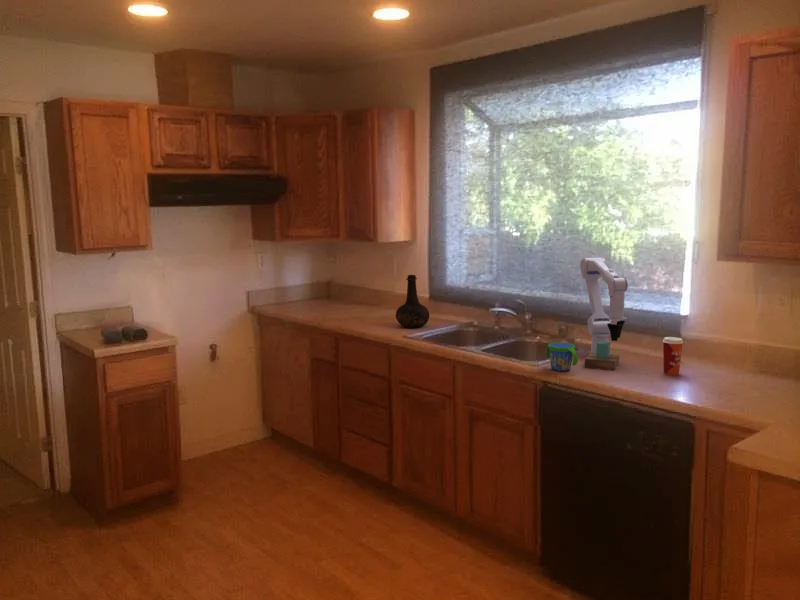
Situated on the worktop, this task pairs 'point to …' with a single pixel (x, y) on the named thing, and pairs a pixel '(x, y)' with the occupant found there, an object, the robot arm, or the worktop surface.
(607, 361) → the walnut base
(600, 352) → the teal block
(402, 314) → the glass bottle
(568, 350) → the snack cup
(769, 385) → the worktop surface
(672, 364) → the paper cup
